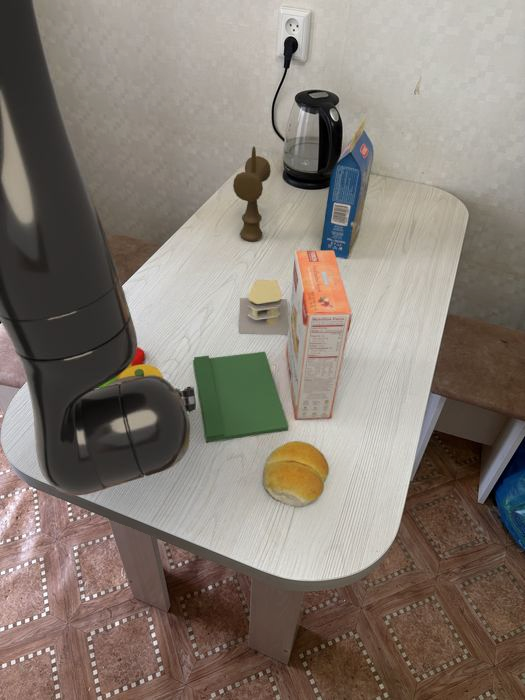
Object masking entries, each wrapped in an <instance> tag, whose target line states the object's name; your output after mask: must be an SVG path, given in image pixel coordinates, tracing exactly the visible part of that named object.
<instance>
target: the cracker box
mask: <svg viewBox="0 0 525 700" xmlns="http://www.w3.org/2000/svg"><path fill="white" fill-rule="evenodd" d="M292 270H293V272H292V282H291V283H292V284H291V296H290V307H289V316H288V319H289V329H288V334H287V340H286V352H285V355H286V362H287V369H288V376H289V377H288V378H289V383H290V384H289V385H290V391H291V393H290V394H291V400H292V407H293V415H294V419H295V420H313V419H317V420H321V419H331V418H333V417H332V416H333V412H334V405H335V401H336V396H337V390H338V387H339V386H338V385H339V381H340V377H341V371H342V368H343V367H342V366H343V362H344V356H345V351H346V347H347V342H348V338H349V333H350V328H351V323H352V317H353V311H352V308H351V305H350V302H349V299H348V294H347V291H346V288H345V284H344V280H343V278H342V274H341V271H340V267H339V263H338V261H337V256H335V253H334V251H333V250H324V251H320V250H295V252H294V259H293V269H292Z"/></svg>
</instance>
